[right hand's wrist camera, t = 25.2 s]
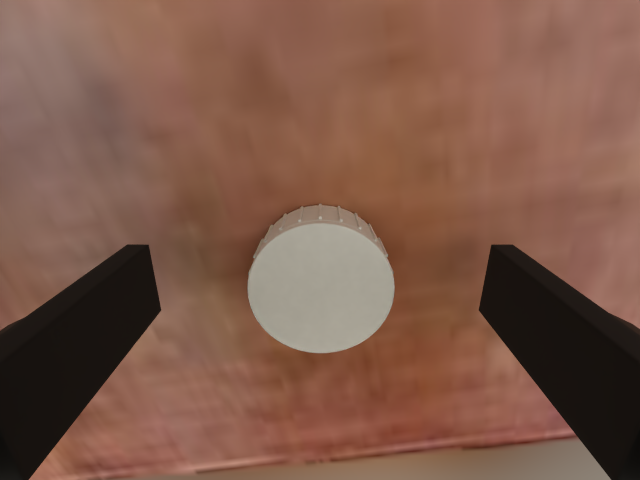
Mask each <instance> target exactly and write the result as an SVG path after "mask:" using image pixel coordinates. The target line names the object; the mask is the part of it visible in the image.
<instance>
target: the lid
mask: <svg viewBox="0 0 640 480" xmlns="http://www.w3.org/2000/svg"><path fill="white" fill-rule="evenodd" d="M387 257H388V254H387V252H386V250H385V248H384V246H383V243H382V241H381V239H380V237H379V238H377V236H376V234H375V233H374V231H373V229H372V226H371V225H370V223H369V224H367V223H366V222H365V221H364V220H362V219H361V218H360V217H358V215H357V213H354V214H353V213H352V212H350V211H347V210H345V209H342V208H340V206H337V207H334V206H327V205H322V204H319V205H314V206H307V207H303V206H301V207H300V209H297V210H295V211H292V212H290V213H288V214H286V213H285V214H284V215H283V217H282V218H281V219H279V220H278V221H277V222H276V223H275V224H274V225H272V224H271V225H270V227H269V230H268V232H267V234H266V236H265V237H264V239H263V238H262V239H261V241H260V243H259V245H258V248H257V250H256V252H255V254H254V256H253V258H255V259H254V261H253V264H252V266H251V268H250V270H249V273H248V275H249V278H248V289H247V291H248V299H249V303H250V307H251V309H252V311H253V314H254V316H255V317H256V319H257V321H258V322H259V324H260V325H261V326H262V327H263V329H264V330H265V331H266V332H267V333H268V334H269V335H271V336H272V337H273V338H275V339H276V340H277V341H279V342H281V343H283V344H284V345H287V346H289V347H291V348H294V349H297V350H300V351H305V352H311V353H330V352H337V351H341V350H345V349H348V348H351V347H353V346H355V345H357V344H359V343H361V342H363V341H364V340H366V339H367V338H369V337H370V336H371V335H372V334H374V333H375V332H376V331H377V329H378V328H379V327H380V326H381V325H382V323H383V322H384V321H385V319H386V317H387V315H388V314H389V312H390V309H391V306H392V303H393V298H394V289H395V286H394V277H393V274H394V273H393V270H392V267H391V265H390V263H389V261H388V259H387Z"/></svg>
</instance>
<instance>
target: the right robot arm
mask: <svg viewBox="0 0 640 480" xmlns="http://www.w3.org/2000/svg"><path fill="white" fill-rule="evenodd" d="M160 311H161V307H160V302H159V296H158V291H157V286H156V281H155V276H154V271H153V265H152V260H151V255H150V250H149V245H126V246H125V247H123V248H122V249H121V250H119V251H118V252H116V253H115V254H113V255H112V256H111V257H109V258H108V259H106V260H105V261H104V262H102V263H101V264H99V265H98V266H97V267H95V268H94V269H92V270H91V271H90V272H88V273H87V274H85V275H84V276H83V277H81V278H80V279H78V280H77V281H76V282H74V283H73V284H71V285H70V286H69V287H67V288H66V289H64V290H63V291H62V292H60V293H59V294H57V295H56V296H55V297H53V298H52V299H50V300H49V301H47V302H46V303H45V304H43V305H42V306H40V307H39V308H38V309H36V310H35V311H33V312H32V313H31V314H29V315H28V316H26V317H25V318H23V319H21V320H18V321H16V322H14V323H12V324H10V325H8V326H7V327H5V328H4V329H2V330H1V331H0V480H29V478H30V477H31V476H32V475H33V473H34V472H35V471H36V470H37V468H38V467H39V466H40V464H41V463H42V462H43V461H44V459H45V458H46V457H47V455H48V454H49V453H50V452H51V450H52V449H53V448H54V447H55V445H56V444H57V443H58V441H59V440H60V439H61V438H62V436H63V435H64V434H65V432H66V431H67V430H68V429H69V427H70V426H71V425H72V424H73V422H74V421H75V420H76V418H77V417H78V416H79V415H80V413H81V412H82V411H83V410H84V408H85V407H86V406H87V404H88V403H89V402H90V401H91V399H92V398H93V397H94V395H95V394H96V393H97V392H98V390H99V389H100V388H101V387H102V385H103V384H104V383H105V381H106V380H107V379H108V378H109V376H110V375H111V374H112V372H113V371H114V370H115V369H116V367H117V366H118V365H119V364H120V362H121V361H122V360H123V358H124V357H125V356H126V355H127V353H128V352H129V351H130V349H131V348H132V347H133V346H134V344H135V343H136V342H137V341H138V339H139V338H140V337H141V335H142V334H143V333H144V332H145V330H146V329H147V328H148V326H149V325H150V324H151V323H152V321H153V320H154V319H155V318H156V316H157V315H158V314H159V312H160ZM479 311H480V312H481V314H482V315H483V316H484V318H485V319H486V320H487V321H488V323H489V324H490V325H491V327H492V328H493V329H494V330H495V332H496V333H497V334H498V335H499V337H500V338H501V339H502V341H503V342H504V343H505V344H506V346H507V347H508V348H509V350H510V351H511V352H512V353H513V355H514V356H515V357H516V358H517V360H518V361H519V362H520V364H521V365H522V366H523V367H524V369H525V370H526V371H527V373H528V374H529V375H530V376H531V378H532V379H533V380H534V381H535V383H536V384H537V385H538V387H539V388H540V389H541V390H542V392H543V393H544V394H545V395H546V397H547V398H548V399H549V401H550V402H551V403H552V404H553V406H554V407H555V408H556V410H557V411H558V412H559V413H560V415H561V416H562V417H563V418H564V420H565V421H566V422H567V424H568V425H569V426H570V427H571V429H572V430H573V431H574V433H575V434H576V435H577V436H578V438H579V439H580V440H581V441H582V443H583V444H584V445H585V447H586V448H587V449H588V450H589V452H590V453H591V454H592V456H593V457H594V458H595V459H596V461H597V462H598V463H599V464H600V466H601V467H602V468H603V470H604V471H605V472H606V473H607V475H608V476H609V477H610V479H611V480H640V329H639V328H637V327H636V326H634V325H633V324H631V323H629V322H627V321H625V320H623V319H621V318H618V317H616V316H614V315H612V314H610V313H608V312H607V311H605V310H604V309H602V308H601V307H599V306H598V305H597V304H595V303H594V302H592V301H591V300H590V299H588V298H587V297H585V296H584V295H583V294H581V293H580V292H578V291H577V290H576V289H574V288H573V287H571V286H570V285H569V284H567V283H566V282H564V281H563V280H562V279H560V278H559V277H557V276H556V275H555V274H553V273H552V272H550V271H549V270H548V269H546V268H545V267H543V266H542V265H541V264H539V263H538V262H536V261H535V260H534V259H532V258H531V257H529V256H528V255H526V254H525V253H524V252H522V251H521V250H519V249H518V248H517V247H515V246H514V245H491V250H490V255H489V260H488V265H487V270H486V276H485V281H484V286H483V291H482V296H481V301H480V307H479Z"/></svg>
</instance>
